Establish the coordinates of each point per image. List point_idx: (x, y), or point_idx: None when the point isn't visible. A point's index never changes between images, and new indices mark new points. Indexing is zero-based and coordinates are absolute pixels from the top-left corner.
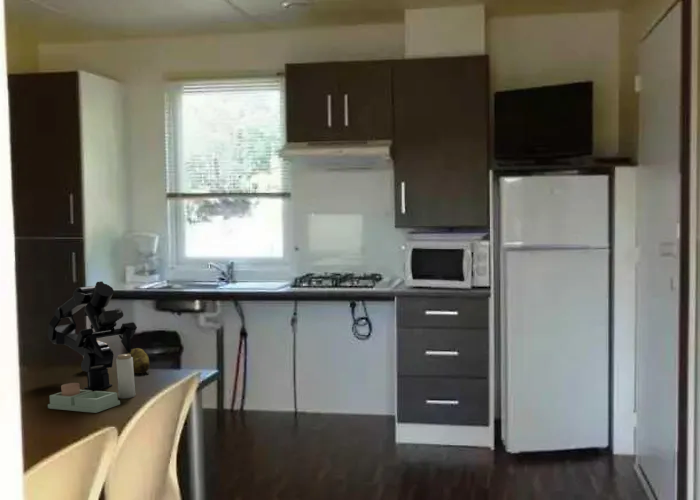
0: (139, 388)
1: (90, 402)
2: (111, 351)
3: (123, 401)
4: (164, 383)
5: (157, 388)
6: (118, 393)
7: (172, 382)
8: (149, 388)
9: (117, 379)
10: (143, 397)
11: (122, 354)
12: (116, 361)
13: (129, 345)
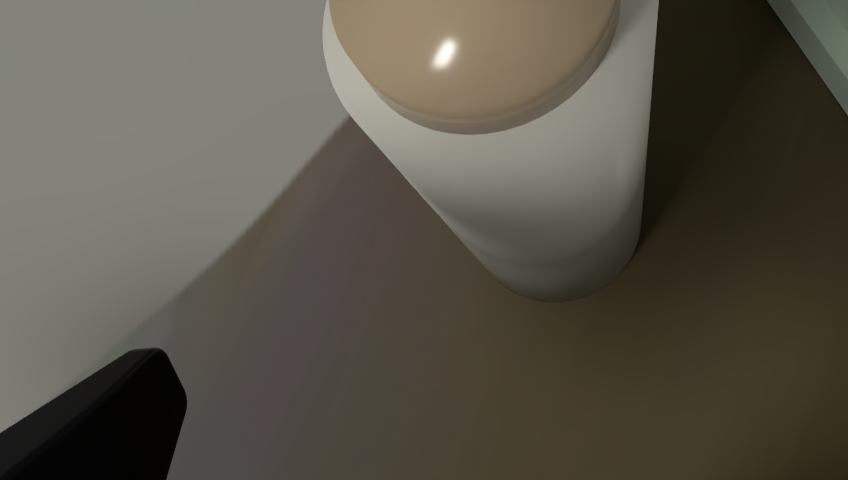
0: (309, 470)
1: None
2: None
3: (665, 44)
4: None
5: (207, 309)
6: (639, 226)
7: None
8: (250, 377)
9: (642, 179)
10: None
11: (460, 66)
12: (656, 25)
13: (30, 428)
